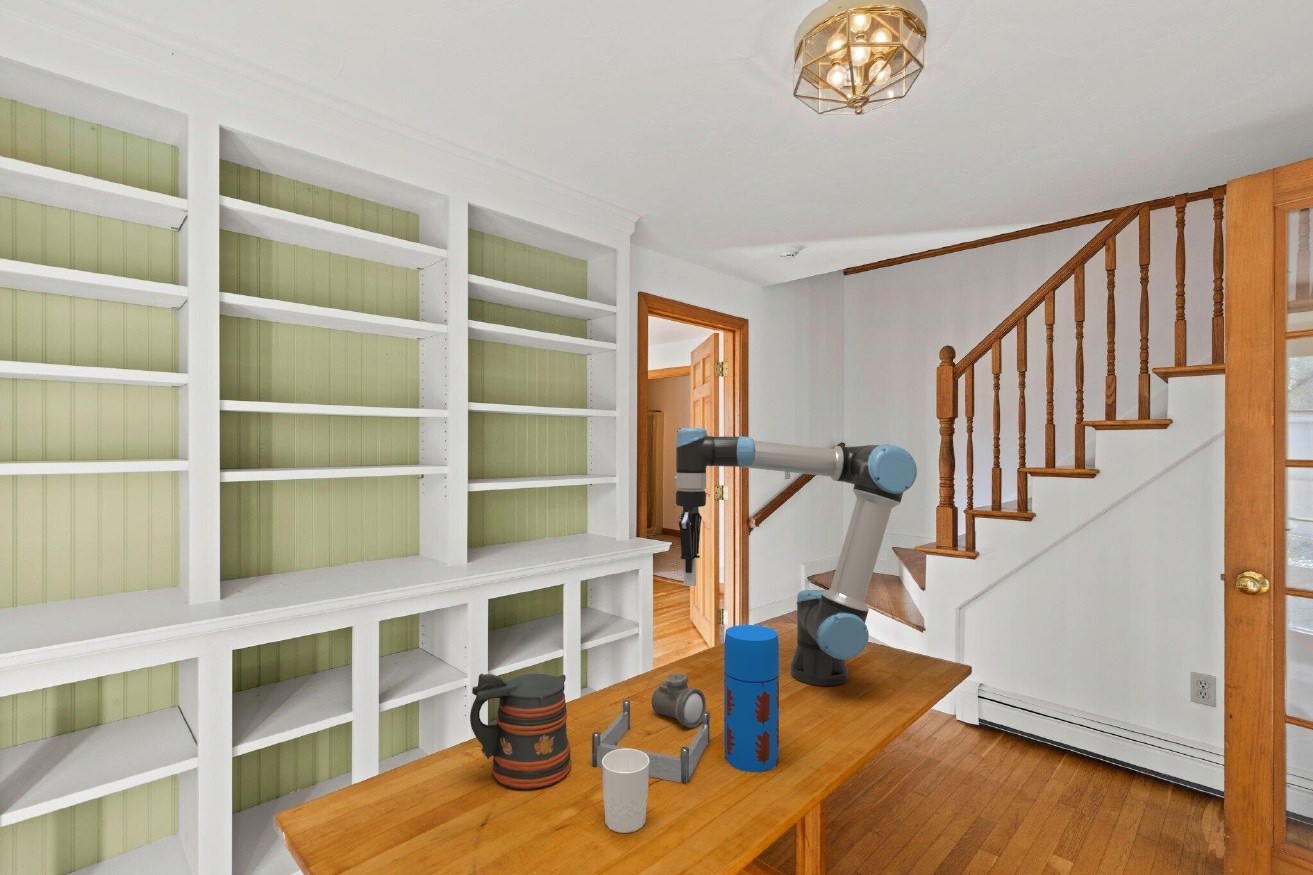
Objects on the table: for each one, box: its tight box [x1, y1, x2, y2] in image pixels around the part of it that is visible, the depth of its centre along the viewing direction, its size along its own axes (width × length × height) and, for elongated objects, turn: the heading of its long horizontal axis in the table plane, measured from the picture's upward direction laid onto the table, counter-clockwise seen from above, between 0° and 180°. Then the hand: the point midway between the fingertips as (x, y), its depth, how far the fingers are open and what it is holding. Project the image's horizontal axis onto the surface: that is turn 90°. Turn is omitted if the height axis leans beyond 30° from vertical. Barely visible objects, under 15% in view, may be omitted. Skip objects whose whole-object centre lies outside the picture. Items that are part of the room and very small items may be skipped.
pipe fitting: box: [650, 673, 707, 729], centre depth 138 cm, size 12×8×10 cm
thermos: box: [723, 624, 780, 773], centre depth 121 cm, size 11×11×25 cm
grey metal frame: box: [591, 699, 711, 785], centre depth 123 cm, size 18×20×6 cm
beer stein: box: [469, 673, 572, 790], centre depth 115 cm, size 19×15×20 cm
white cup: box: [601, 748, 650, 834], centre depth 101 cm, size 8×8×10 cm
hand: (689, 585), depth 150 cm, fingers closed
